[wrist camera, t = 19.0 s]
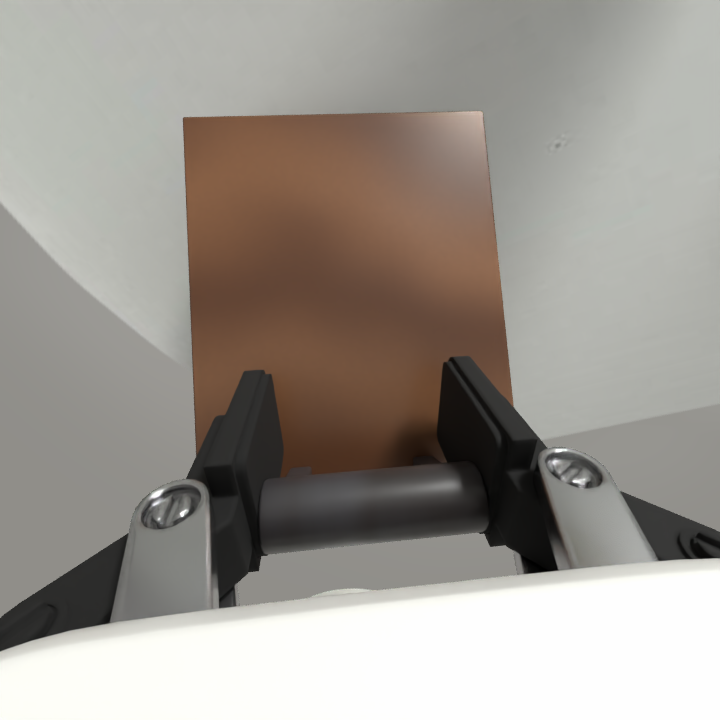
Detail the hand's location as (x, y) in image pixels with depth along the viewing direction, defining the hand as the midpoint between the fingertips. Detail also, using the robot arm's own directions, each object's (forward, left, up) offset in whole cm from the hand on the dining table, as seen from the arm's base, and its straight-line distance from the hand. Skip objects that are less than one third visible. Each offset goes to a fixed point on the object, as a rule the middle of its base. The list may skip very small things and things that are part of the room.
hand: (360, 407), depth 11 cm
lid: (+2, 0, -3) cm, 3 cm away
